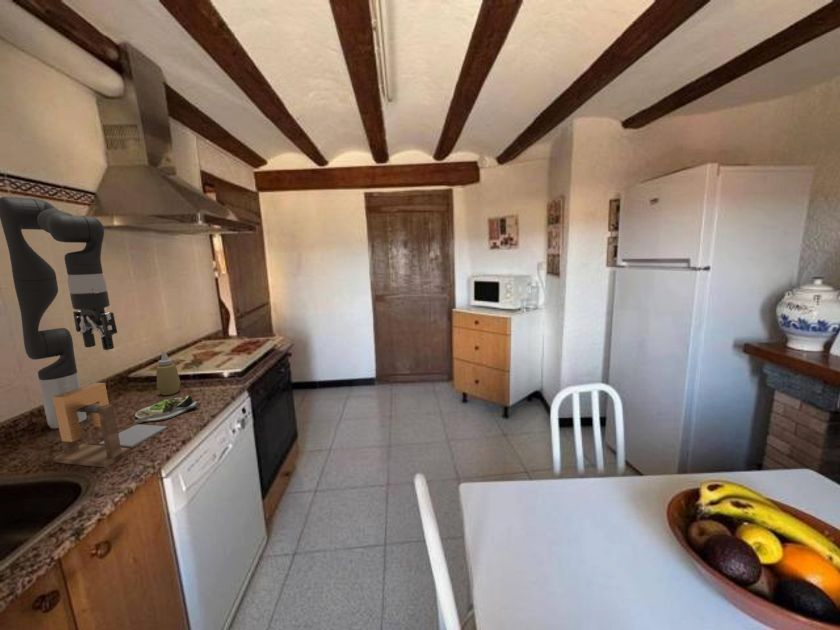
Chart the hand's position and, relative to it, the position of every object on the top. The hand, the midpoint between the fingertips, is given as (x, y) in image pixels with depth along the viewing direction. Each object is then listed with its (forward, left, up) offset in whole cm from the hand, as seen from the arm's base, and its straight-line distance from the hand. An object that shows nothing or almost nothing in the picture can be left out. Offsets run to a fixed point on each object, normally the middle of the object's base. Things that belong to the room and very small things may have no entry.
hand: (99, 348), depth 98 cm
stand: (-3, -5, -31) cm, 32 cm away
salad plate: (-8, +25, -32) cm, 41 cm away
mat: (-3, +7, -31) cm, 32 cm away
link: (-3, -5, -23) cm, 24 cm away
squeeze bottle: (-23, +40, -31) cm, 56 cm away
